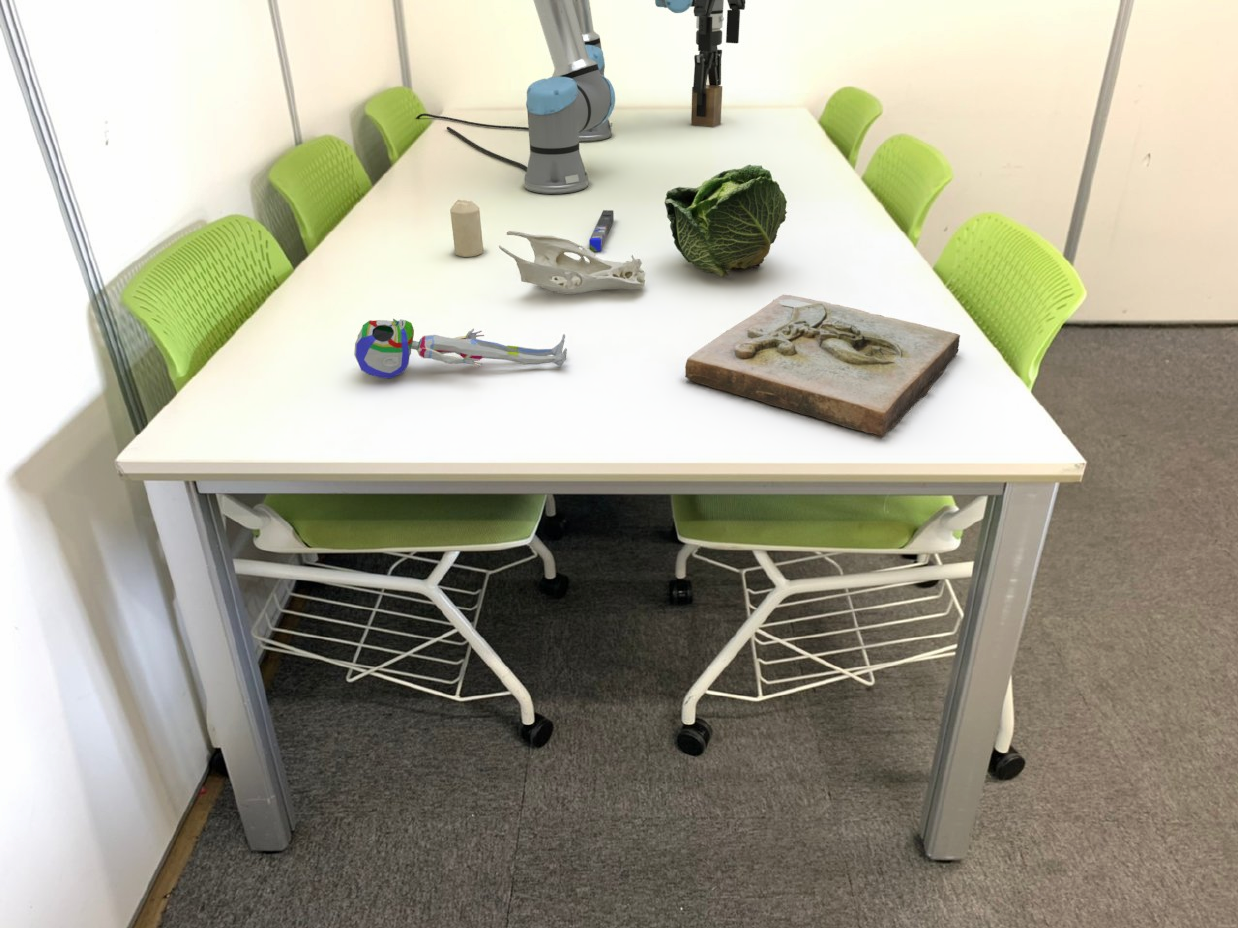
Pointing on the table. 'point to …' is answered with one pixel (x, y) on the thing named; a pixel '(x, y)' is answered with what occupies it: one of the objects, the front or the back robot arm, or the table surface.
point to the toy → (435, 349)
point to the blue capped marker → (601, 230)
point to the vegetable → (727, 219)
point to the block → (708, 107)
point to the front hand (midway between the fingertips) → (718, 47)
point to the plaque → (827, 362)
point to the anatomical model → (574, 267)
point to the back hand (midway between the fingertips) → (706, 114)
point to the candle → (466, 228)
